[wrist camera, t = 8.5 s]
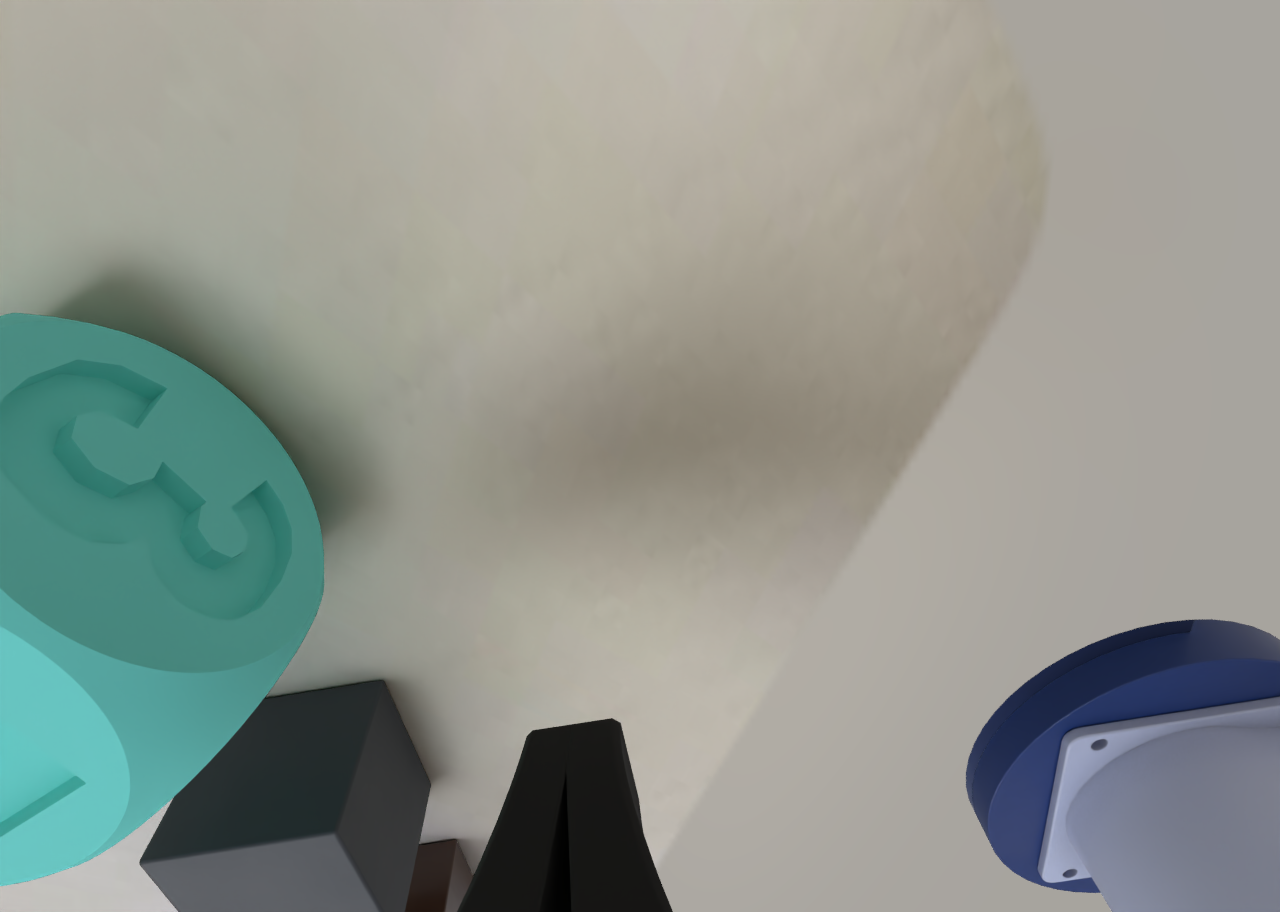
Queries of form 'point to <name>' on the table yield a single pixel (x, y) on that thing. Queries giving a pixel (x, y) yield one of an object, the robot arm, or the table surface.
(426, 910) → the walnut block
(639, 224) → the table surface
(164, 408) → the decorative dice
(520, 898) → the robot arm
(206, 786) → the grey block
